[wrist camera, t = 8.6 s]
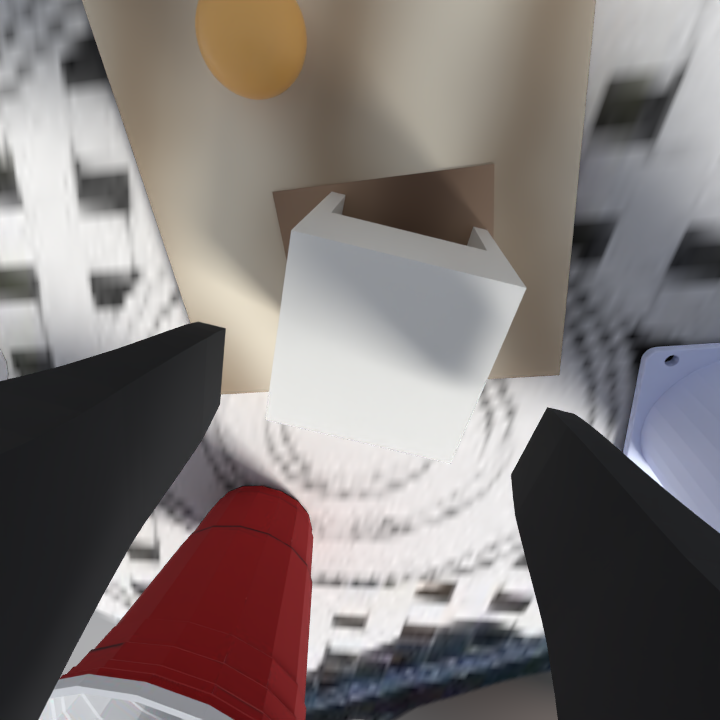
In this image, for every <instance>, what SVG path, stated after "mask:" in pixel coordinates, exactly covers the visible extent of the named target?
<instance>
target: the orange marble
mask: <svg viewBox="0 0 720 720" xmlns="http://www.w3.org/2000/svg"><path fill="white" fill-rule="evenodd" d="M195 30H196V38H197V43H198V46H199V49H200V52H201V55H202V57H203V59H204V61H205V63H206V65H207V67H208V68H209V70H210V71H211V73H212V74H213V75H214V77H215V78H216V79H217V80H218V81H219V82H220V83H221V84H222V85H223V86H224V87H226V88H227V89H228V90H230V91H231V92H233V93H235V94H237V95H239V96H242V97H245V98H248V99H254V100H263V99H269V98H273V97H275V96H278V95H280V94H281V93H283V92H285V91H286V90H287V89H288V88H289V87H290V86H291V85H292V84H293V83H294V82H295V80H296V79H297V77H298V76H299V74H300V72H301V70H302V67H303V64H304V61H305V56H306V49H307V35H306V27H305V22H304V18H303V15H302V12H301V10H300V7H299V5H298V3H297V1H296V0H198V4H197V8H196V15H195Z"/></svg>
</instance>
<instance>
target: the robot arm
mask: <svg viewBox="0 0 720 720" xmlns="http://www.w3.org/2000/svg"><path fill="white" fill-rule="evenodd" d="M225 333H226V328H223V327H219V326H215V325H211V324H206V323H202V322H194V323H190V324H187V325H184V326H181V327H178V328H175V329H172V330H169V331H166V332H164V333H161V334H158V335H155V336H152V337H150V338H147V339H144V340H141V341H138V342H135V343H133V344H130V345H127V346H124V347H121V348H118V349H115V350H112V351H109V352H106V353H102V354H99V355H96V356H93V357H89V358H86V359H83V360H80V361H77V362H73V363H70V364H67V365H64V366H60V367H56V368H53V369H49V370H45V371H41V372H37V373H33V374H29V375H25V376H21V377H16V378H12V379H7V380H3V381H0V720H39V718H40V716H41V714H42V712H43V710H44V708H45V706H46V704H47V702H48V700H49V698H50V696H51V694H52V692H53V690H54V688H55V686H56V684H57V682H58V680H59V678H60V676H61V674H62V672H63V670H64V668H65V666H66V664H67V662H68V660H69V658H70V656H71V654H72V652H73V650H74V648H75V646H76V644H77V642H78V641H79V639H80V637H81V635H82V633H83V631H84V630H85V627H86V626H87V624H88V622H89V620H90V618H91V616H92V615H93V613H94V611H95V609H96V607H97V605H98V603H99V601H100V599H101V598H102V596H103V594H104V592H105V590H106V588H107V587H108V585H109V583H110V581H111V579H112V578H113V576H114V574H115V572H116V570H117V569H118V567H119V565H120V563H121V561H122V560H123V558H124V556H125V554H126V552H127V551H128V549H129V547H130V545H131V544H132V542H133V541H134V539H135V537H136V536H137V534H138V533H139V531H140V530H141V528H142V526H143V525H144V523H145V522H146V520H147V519H148V518H149V516H150V515H151V513H152V512H153V510H154V509H155V508H156V506H157V505H158V503H159V502H160V500H161V499H162V497H163V496H164V495H165V493H166V492H167V490H168V489H169V487H170V486H171V485H172V483H173V482H174V480H175V479H176V477H177V476H178V474H179V473H180V472H181V470H182V469H183V467H184V466H185V464H186V463H187V461H188V460H189V459H190V457H191V456H192V454H193V453H194V451H195V450H196V448H197V447H198V445H199V444H200V442H201V441H202V439H203V437H204V435H205V433H206V431H207V429H208V427H209V425H210V424H211V421H212V419H213V417H214V415H215V413H216V411H217V409H218V407H219V405H220V397H221V384H222V372H223V359H224V346H225ZM671 355H674V357H673V359H671V360H670V361H667V362H665V360H666V358H667V357H669V356H671ZM511 479H512V491H513V501H514V509H515V516H516V521H517V525H518V529H519V533H520V537H521V541H522V545H523V549H524V553H525V557H526V561H527V565H528V569H529V572H530V576H531V580H532V584H533V588H534V592H535V595H536V599H537V603H538V607H539V611H540V615H541V619H542V623H543V628H544V632H545V637H546V642H547V647H548V654H549V660H550V667H551V673H552V680H553V686H554V693H555V699H556V707H557V715H558V720H720V343H709V344H693V345H677V346H662V347H654V348H650V349H649V350H647V351H646V352H645V353H644V354H643V356H642V358H641V363H640V368H639V373H638V378H637V383H636V388H635V393H634V398H633V404H632V409H631V414H630V419H629V424H628V429H627V434H626V439H625V445H624V450H623V453H622V452H621V451H620V450H619V449H618V448H617V447H615V446H614V445H613V444H612V443H611V442H610V441H609V440H607V439H606V438H605V437H604V436H603V435H601V434H600V433H599V432H598V431H597V430H595V429H594V428H593V427H592V426H590V425H589V424H588V423H587V422H585V421H584V420H582V419H581V418H580V417H578V416H577V415H575V414H572V413H568V412H564V411H560V410H556V409H552V408H548V407H547V409H546V411H545V413H544V414H543V416H542V418H541V420H540V422H539V424H538V426H537V427H536V429H535V431H534V433H533V435H532V437H531V439H530V441H529V442H528V444H527V446H526V448H525V450H524V452H523V454H522V455H521V457H520V459H519V461H518V463H517V465H516V467H515V468H514V470H513V472H512V474H511Z"/></svg>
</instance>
